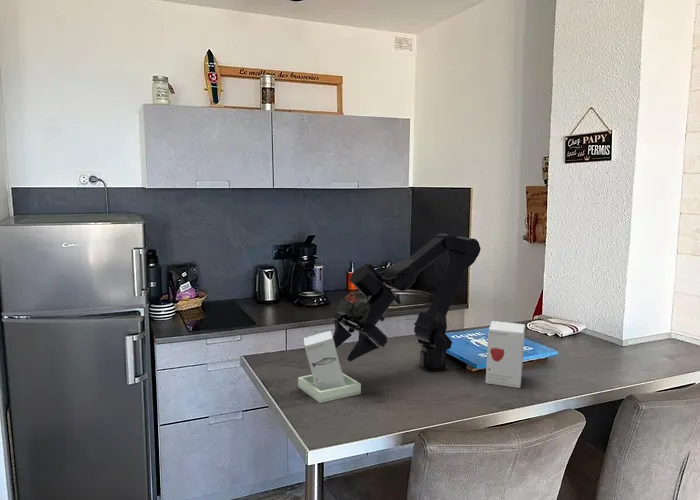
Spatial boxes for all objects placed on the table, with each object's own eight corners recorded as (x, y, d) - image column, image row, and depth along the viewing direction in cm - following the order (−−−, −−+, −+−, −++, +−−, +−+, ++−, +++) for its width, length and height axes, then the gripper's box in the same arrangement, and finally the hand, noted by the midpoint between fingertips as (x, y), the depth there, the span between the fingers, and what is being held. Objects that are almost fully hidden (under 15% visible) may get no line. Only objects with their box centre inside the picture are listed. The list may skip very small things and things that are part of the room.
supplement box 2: (484, 383, 142) (487, 328, 140) (488, 372, 150) (490, 320, 148) (520, 388, 138) (524, 332, 137) (522, 377, 147) (525, 323, 145)
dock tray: (337, 378, 144) (337, 369, 143) (360, 393, 134) (361, 383, 133) (298, 386, 137) (298, 377, 137) (319, 402, 128) (319, 392, 127)
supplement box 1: (317, 394, 131) (303, 346, 129) (315, 383, 138) (302, 337, 137) (346, 385, 132) (333, 337, 130) (343, 375, 139) (330, 329, 137)
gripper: (338, 281, 144) (301, 327, 140) (377, 294, 129) (337, 346, 124) (363, 306, 150) (328, 351, 145) (403, 322, 134) (366, 373, 130)
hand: (338, 355), depth 136 cm, fingers open, 9 cm apart
